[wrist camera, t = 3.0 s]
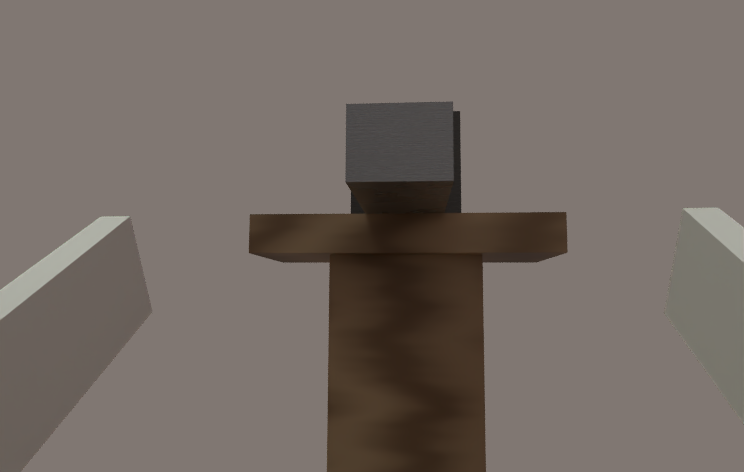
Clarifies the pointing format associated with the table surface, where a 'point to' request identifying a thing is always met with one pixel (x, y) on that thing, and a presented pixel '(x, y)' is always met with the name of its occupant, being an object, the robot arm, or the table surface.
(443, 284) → the walnut stand
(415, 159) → the bar
